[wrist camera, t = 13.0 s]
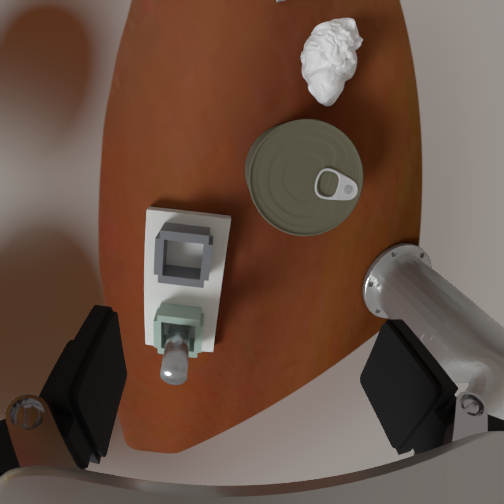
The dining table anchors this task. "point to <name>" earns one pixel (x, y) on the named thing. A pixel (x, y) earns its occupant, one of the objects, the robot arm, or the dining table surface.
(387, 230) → the dining table surface
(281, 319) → the dining table surface
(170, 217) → the tool board
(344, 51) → the bust
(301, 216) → the can
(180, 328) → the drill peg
